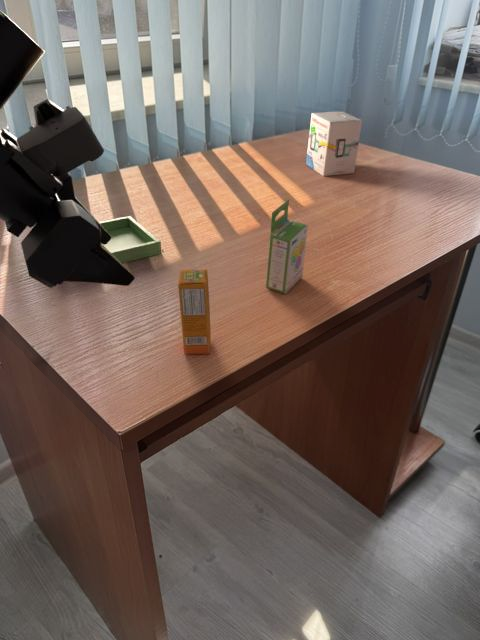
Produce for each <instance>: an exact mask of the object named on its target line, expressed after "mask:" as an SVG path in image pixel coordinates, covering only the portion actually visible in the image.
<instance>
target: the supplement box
mask: <svg viewBox="0 0 480 640" xmlns="http://www.w3.org/2000/svg"><path fill="white" fill-rule="evenodd" d="M178 275H179V276H178V283H177V288H178V289H177V290H178V300H179V311H180V321H181V332H182V333H181V334H182V344H183V354H184V355H210V354H211V341H212V340H211V337H212V336H211V335H212V334H211V331H212V330H211V307H210V292H209V289H210V288H209V276H208V275H209V274H208V269H205V268H204V269H203V268H200V269H195V268H193V269H180V271H179V274H178Z"/></svg>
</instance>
